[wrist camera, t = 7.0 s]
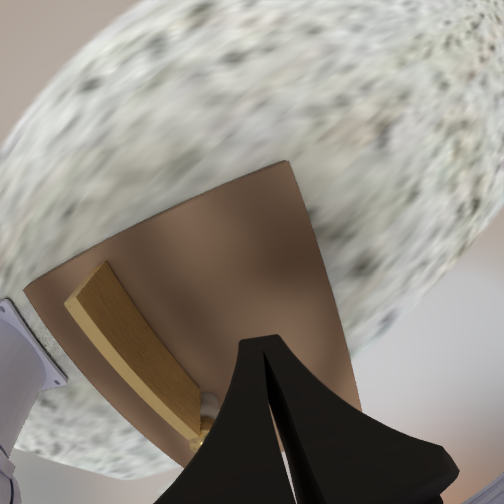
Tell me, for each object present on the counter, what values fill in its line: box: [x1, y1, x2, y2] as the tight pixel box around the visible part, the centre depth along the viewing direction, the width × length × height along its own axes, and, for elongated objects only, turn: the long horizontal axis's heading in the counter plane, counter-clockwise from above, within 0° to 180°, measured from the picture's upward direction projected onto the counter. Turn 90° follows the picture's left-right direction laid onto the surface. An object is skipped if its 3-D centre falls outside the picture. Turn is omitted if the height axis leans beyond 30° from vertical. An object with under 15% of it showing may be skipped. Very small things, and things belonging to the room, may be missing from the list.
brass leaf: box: [64, 261, 215, 453], centre depth 14 cm, size 12×2×4 cm, turn 24°
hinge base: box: [23, 160, 362, 468], centre depth 16 cm, size 17×23×5 cm
